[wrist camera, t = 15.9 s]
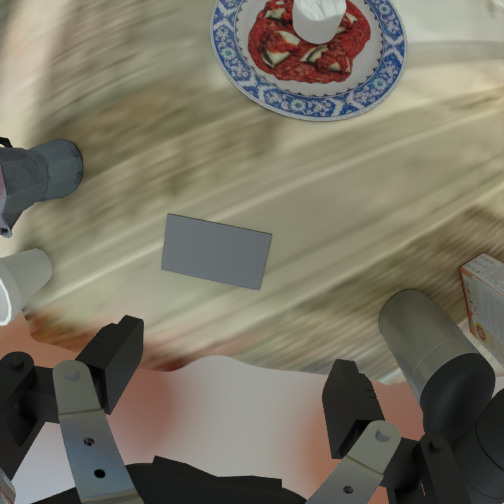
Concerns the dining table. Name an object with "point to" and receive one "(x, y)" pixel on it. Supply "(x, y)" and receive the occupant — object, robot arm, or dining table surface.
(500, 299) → the cracker box
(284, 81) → the ceramic plate
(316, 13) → the white peaked cylinder
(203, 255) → the mat
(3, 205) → the moka pot
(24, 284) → the foam cup
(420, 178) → the dining table surface
